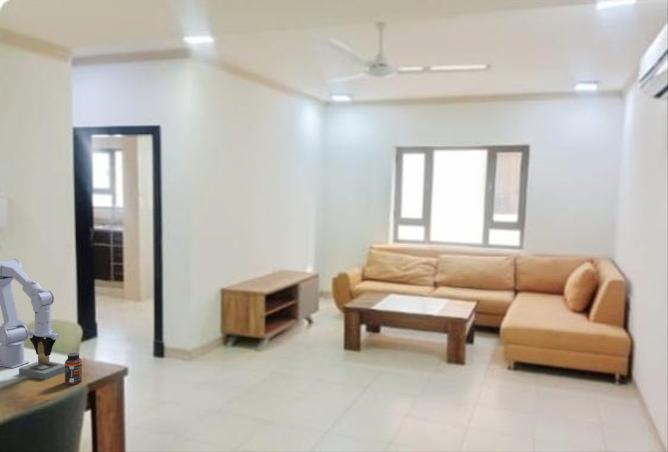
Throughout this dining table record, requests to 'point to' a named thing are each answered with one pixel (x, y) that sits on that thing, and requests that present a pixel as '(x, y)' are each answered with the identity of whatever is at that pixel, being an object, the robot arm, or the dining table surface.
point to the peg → (42, 354)
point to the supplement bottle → (73, 369)
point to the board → (42, 370)
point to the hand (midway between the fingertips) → (43, 354)
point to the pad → (43, 366)
